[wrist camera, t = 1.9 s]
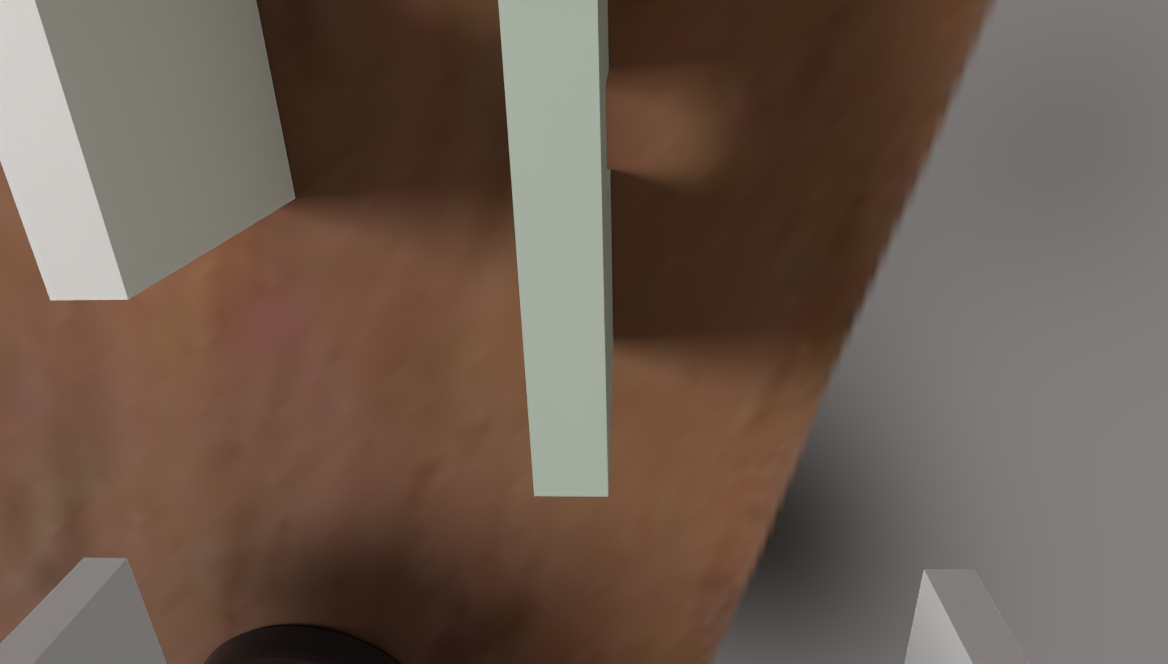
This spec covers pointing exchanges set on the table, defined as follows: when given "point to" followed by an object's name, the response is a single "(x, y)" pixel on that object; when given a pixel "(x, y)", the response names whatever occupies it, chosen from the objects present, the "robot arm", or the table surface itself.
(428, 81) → the table surface
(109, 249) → the white board
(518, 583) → the table surface
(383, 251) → the table surface
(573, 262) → the green board
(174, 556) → the table surface
